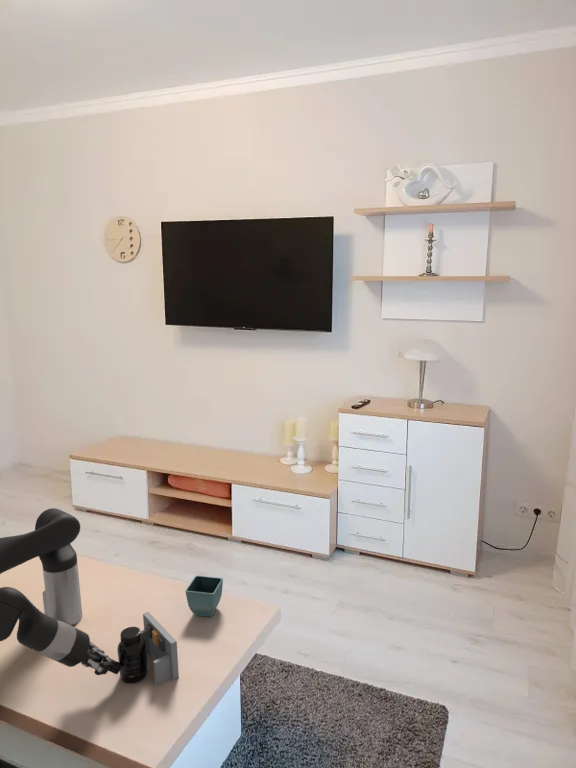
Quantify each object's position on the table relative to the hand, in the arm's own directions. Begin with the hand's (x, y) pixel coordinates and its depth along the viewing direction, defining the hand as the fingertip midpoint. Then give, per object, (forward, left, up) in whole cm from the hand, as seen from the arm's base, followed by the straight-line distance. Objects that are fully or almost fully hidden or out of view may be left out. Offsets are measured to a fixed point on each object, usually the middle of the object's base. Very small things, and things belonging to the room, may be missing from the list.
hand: (118, 668), depth 137 cm
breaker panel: (+5, +8, -4) cm, 10 cm away
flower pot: (+8, +33, -4) cm, 34 cm away
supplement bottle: (+2, +4, -4) cm, 6 cm away
